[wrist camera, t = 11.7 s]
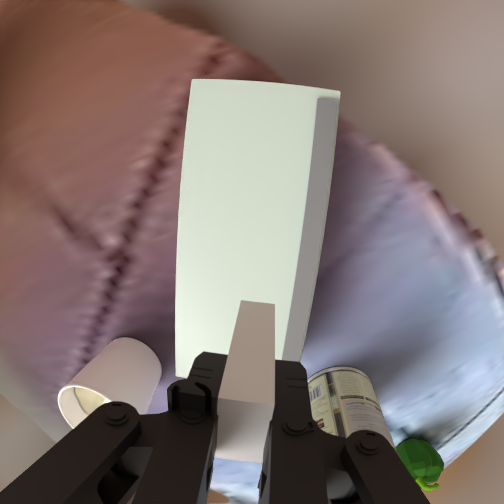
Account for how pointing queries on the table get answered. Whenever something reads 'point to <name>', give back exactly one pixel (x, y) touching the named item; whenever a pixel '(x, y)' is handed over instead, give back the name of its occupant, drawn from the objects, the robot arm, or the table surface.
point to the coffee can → (346, 403)
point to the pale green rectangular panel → (251, 210)
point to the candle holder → (112, 380)
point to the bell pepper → (421, 462)
